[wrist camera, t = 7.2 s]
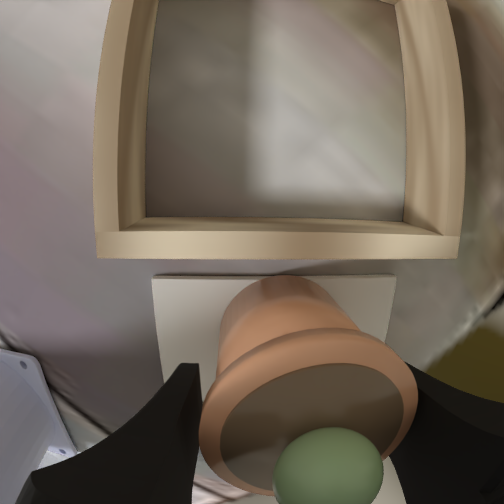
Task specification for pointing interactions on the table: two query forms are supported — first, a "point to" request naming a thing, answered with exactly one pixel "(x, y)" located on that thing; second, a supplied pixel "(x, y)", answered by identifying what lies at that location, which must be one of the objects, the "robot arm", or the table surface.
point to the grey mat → (220, 295)
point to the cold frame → (271, 228)
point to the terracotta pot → (303, 398)
